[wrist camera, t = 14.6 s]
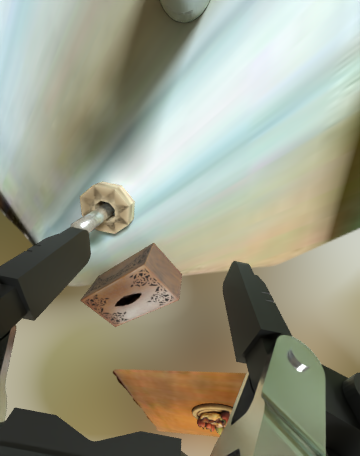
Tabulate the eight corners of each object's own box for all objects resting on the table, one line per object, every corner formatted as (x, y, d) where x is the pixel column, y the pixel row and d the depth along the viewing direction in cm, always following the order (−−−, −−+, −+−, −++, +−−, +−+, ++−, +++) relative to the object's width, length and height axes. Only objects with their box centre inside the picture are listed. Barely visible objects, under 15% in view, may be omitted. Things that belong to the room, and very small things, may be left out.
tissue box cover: (127, 300, 60) (115, 326, 51) (98, 276, 55) (80, 300, 46) (181, 273, 52) (179, 299, 43) (154, 242, 47) (144, 264, 38)
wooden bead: (88, 178, 40) (78, 181, 36) (135, 188, 40) (129, 192, 36) (92, 221, 45) (83, 227, 42) (133, 229, 45) (127, 236, 42)
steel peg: (106, 199, 42) (69, 220, 29) (118, 201, 42) (86, 224, 29) (107, 210, 43) (71, 235, 31) (118, 212, 43) (87, 238, 31)
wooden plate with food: (212, 397, 94) (213, 418, 87) (252, 414, 99) (257, 435, 92) (183, 409, 108) (182, 428, 101) (220, 423, 114) (221, 442, 106)
